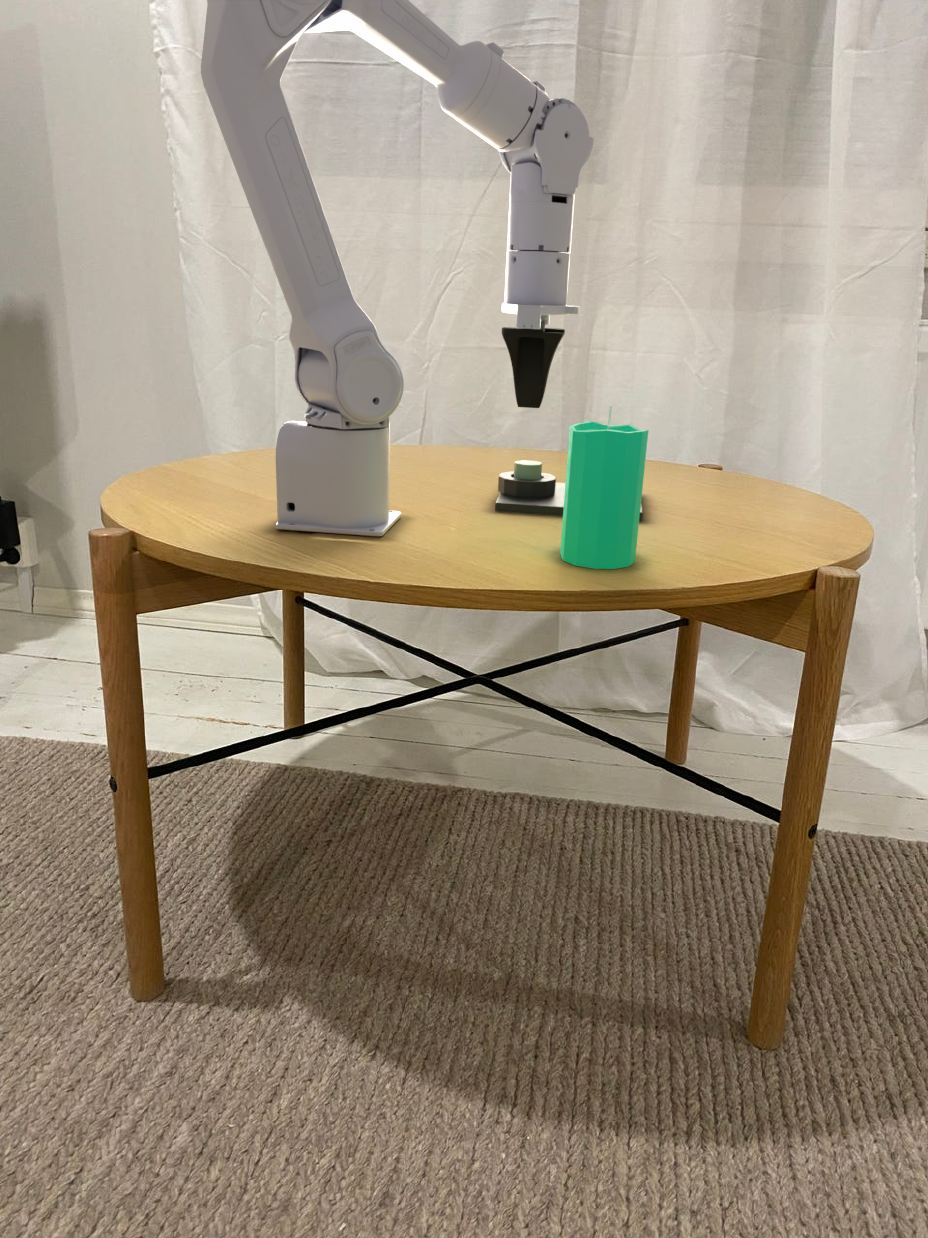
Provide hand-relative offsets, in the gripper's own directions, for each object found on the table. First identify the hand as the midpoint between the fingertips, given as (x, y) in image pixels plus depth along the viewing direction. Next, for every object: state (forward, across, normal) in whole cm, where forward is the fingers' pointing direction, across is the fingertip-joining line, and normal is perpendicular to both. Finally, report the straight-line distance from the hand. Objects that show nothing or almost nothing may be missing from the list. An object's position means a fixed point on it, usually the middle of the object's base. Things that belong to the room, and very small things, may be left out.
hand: (529, 406), depth 87 cm
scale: (+10, +4, -4) cm, 11 cm away
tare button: (+8, +4, 0) cm, 8 cm away
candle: (+10, -16, -7) cm, 21 cm away
